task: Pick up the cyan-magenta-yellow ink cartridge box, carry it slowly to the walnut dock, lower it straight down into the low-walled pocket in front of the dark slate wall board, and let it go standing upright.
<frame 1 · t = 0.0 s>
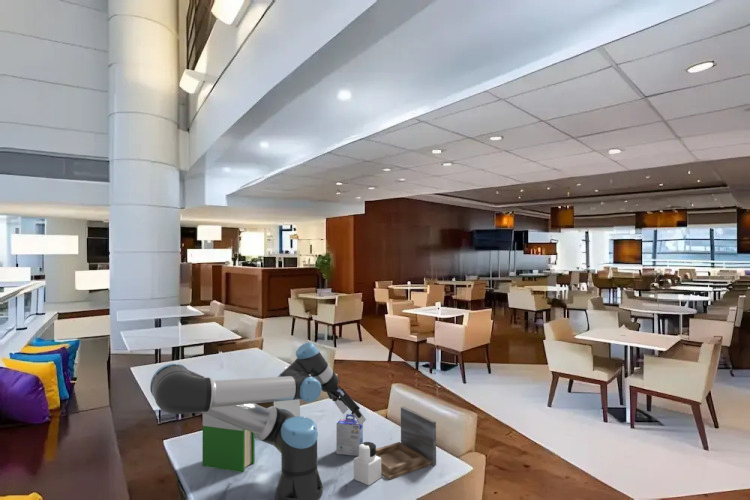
hand: (354, 416, 168), 15 cm above the table, tool tilted 35°, fingers open, 13 cm apart
medicine bottle: (367, 479, 150), on the table
milk: (286, 424, 200), on the table
hardback book: (228, 465, 161), on the table
wall dock: (395, 462, 162), on the table
ink cartridge box: (349, 452, 170), on the table
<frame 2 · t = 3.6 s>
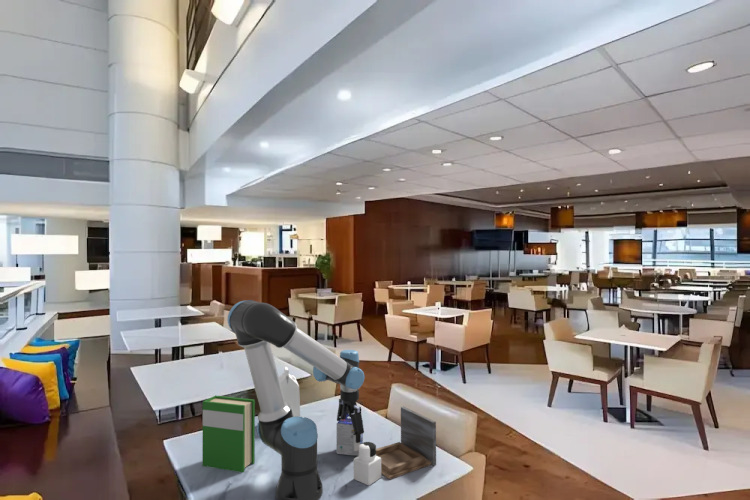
hand: (349, 445, 170), 3 cm above the table, tool pointing down, fingers closed on ink cartridge box, 10 cm apart
ink cartridge box: (349, 452, 170), on the table, touching gripper
everything else where it was.
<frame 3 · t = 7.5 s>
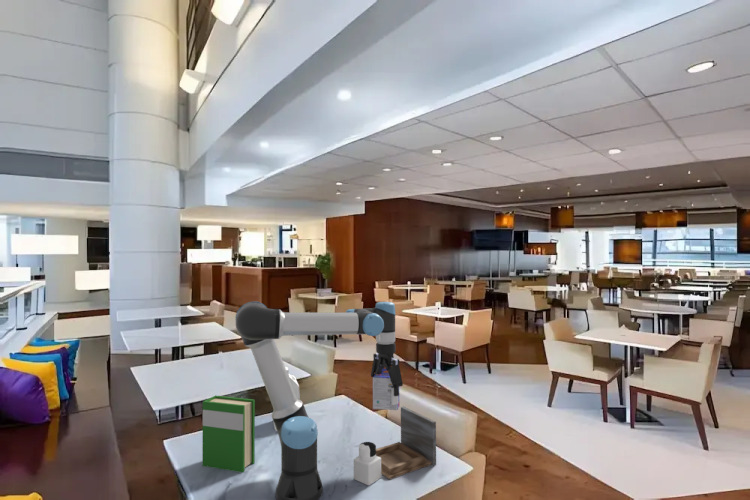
hand: (386, 400, 164), 23 cm above the table, tool pointing down, fingers closed on ink cartridge box, 10 cm apart
ink cartridge box: (386, 408, 164), point 20 cm above the table, touching gripper
everything else where it was.
when the fingers open (5 cm above the table, at t = 11.6 s): ink cartridge box stays where it is, resting on wall dock.
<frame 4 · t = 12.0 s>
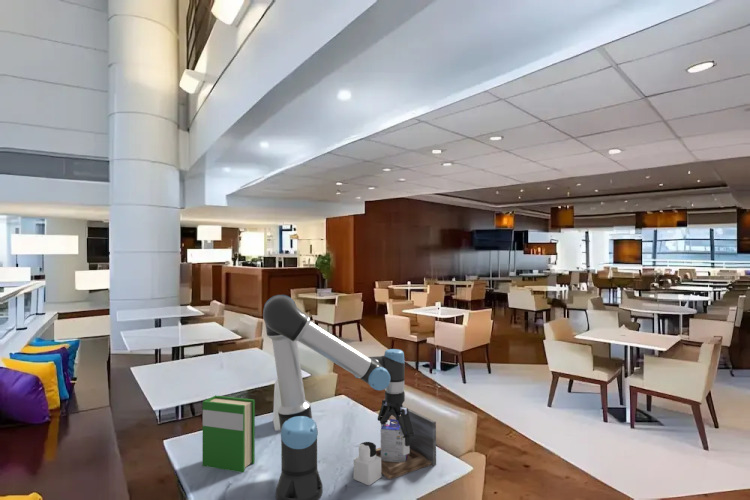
hand: (395, 447, 162), 6 cm above the table, tool pointing down, fingers open, 13 cm apart
ink cartridge box: (394, 459, 162), point 1 cm above the table, touching wall dock
everything else where it was.
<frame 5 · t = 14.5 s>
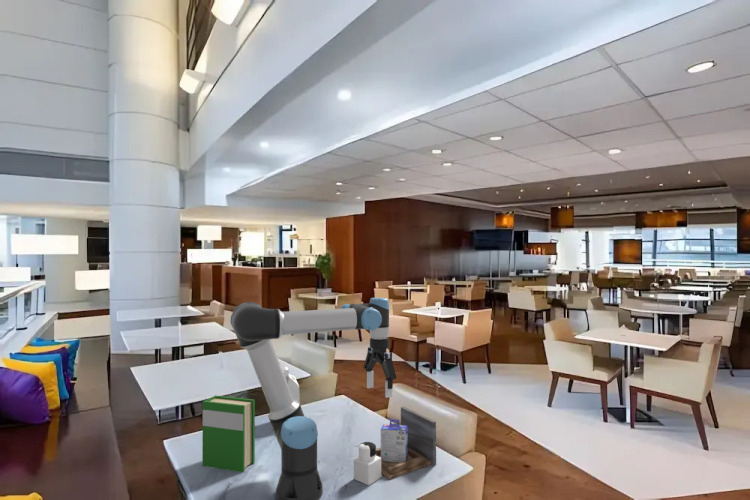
hand: (379, 392, 166), 25 cm above the table, tool pointing down, fingers open, 13 cm apart
nothing on the table moved.
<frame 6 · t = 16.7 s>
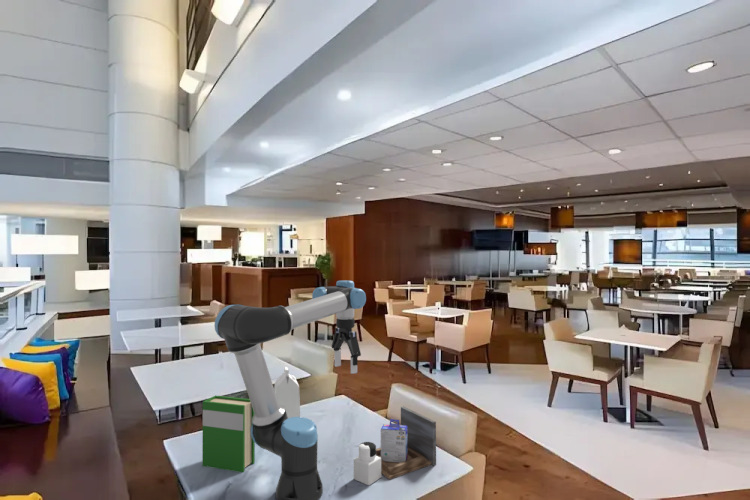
hand: (345, 369, 176), 32 cm above the table, tool pointing down, fingers open, 13 cm apart
nothing on the table moved.
at the end: ink cartridge box 0.4 cm off-centre on the wall dock, point 0.8 cm above the wall dock's base; ink cartridge box tilted 0°; the gripper is holding nothing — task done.
